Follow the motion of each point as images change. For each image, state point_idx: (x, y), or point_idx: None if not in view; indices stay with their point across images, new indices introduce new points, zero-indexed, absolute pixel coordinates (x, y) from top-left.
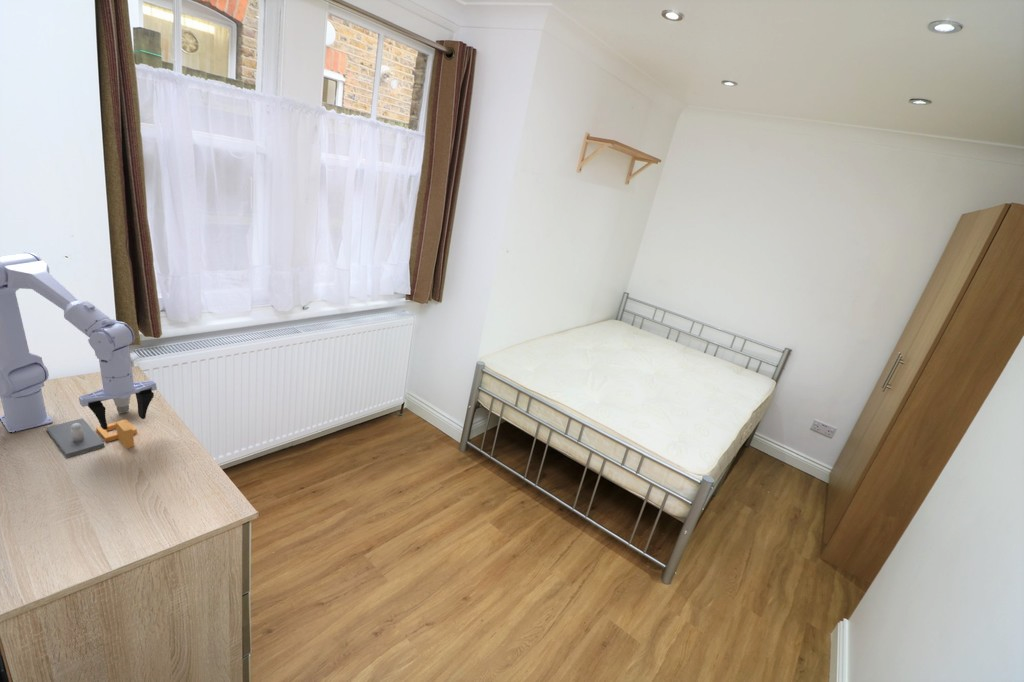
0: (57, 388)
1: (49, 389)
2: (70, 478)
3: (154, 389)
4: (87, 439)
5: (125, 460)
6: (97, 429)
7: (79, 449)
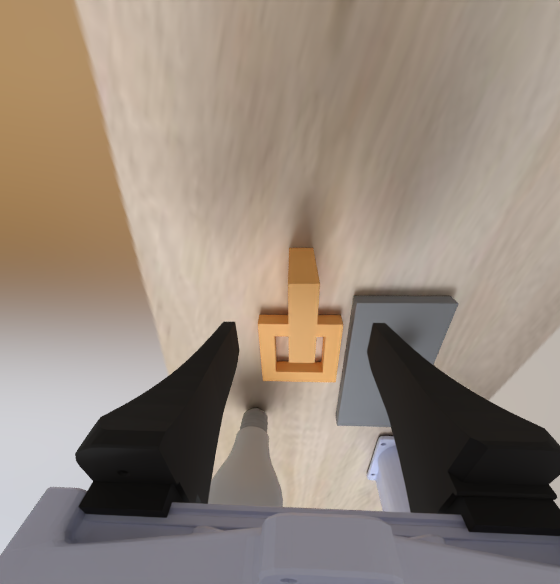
0: (319, 505)
1: (329, 506)
2: (533, 159)
3: (57, 497)
4: None
5: (348, 166)
6: (336, 373)
7: (420, 307)
